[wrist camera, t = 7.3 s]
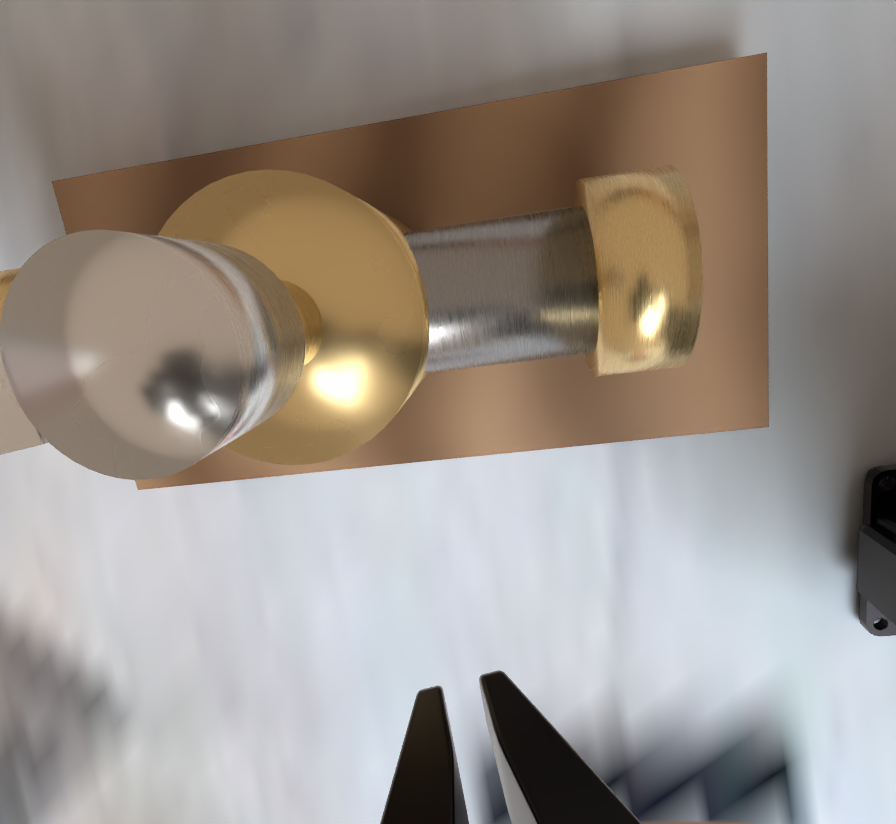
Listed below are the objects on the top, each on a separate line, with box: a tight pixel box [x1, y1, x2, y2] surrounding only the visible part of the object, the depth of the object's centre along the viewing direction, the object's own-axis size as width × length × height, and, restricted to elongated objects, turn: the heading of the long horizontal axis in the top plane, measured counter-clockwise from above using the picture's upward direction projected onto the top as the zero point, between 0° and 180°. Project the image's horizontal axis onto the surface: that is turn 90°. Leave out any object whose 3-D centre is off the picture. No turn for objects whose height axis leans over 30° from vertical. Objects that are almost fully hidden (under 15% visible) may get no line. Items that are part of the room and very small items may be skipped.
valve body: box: [0, 165, 703, 465], centre depth 14 cm, size 18×6×9 cm, turn 98°
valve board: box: [52, 53, 769, 490], centre depth 19 cm, size 22×11×2 cm, turn 98°
